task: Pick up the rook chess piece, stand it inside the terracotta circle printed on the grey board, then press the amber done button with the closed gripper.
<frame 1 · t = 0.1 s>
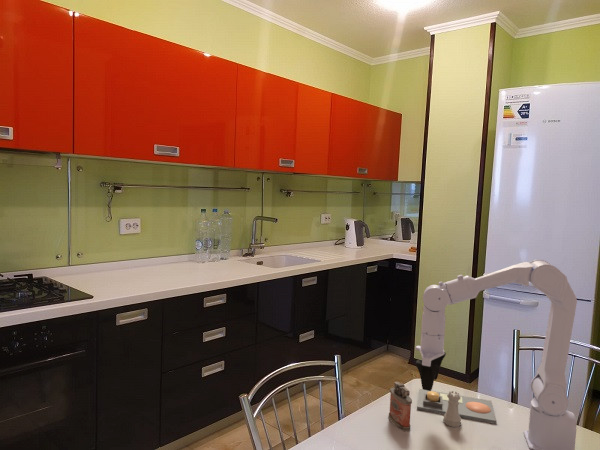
hand: (429, 384, 113), 10 cm above the table, tool pointing down, fingers open, 7 cm apart
done button: (433, 396, 122), point 3 cm above the table, slide at 0.0 cm
lighter: (399, 423, 113), on the table
grey board: (454, 406, 123), on the table
rook chess piece: (451, 423, 114), on the table
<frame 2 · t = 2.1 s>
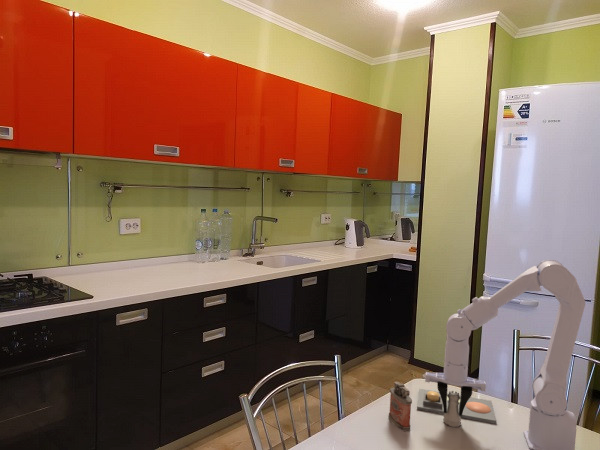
hand: (452, 412, 113), 3 cm above the table, tool pointing down, fingers closed on rook chess piece, 3 cm apart
rook chess piece: (451, 423, 114), on the table, touching gripper
everything else where it was.
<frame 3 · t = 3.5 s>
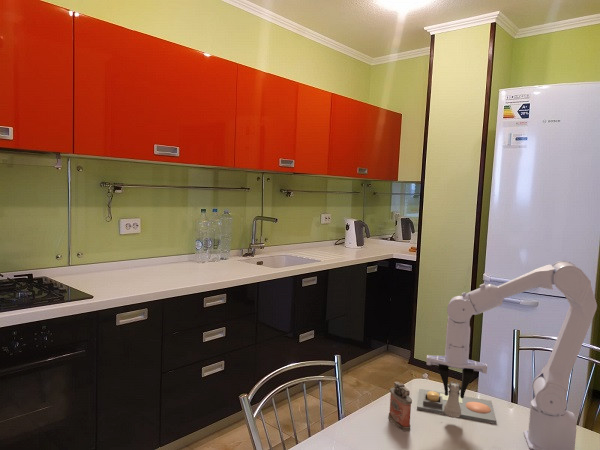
hand: (454, 395, 113), 7 cm above the table, tool pointing down, fingers closed on rook chess piece, 3 cm apart
rook chess piece: (452, 414, 113), point 2 cm above the table, touching gripper
everything else where it was.
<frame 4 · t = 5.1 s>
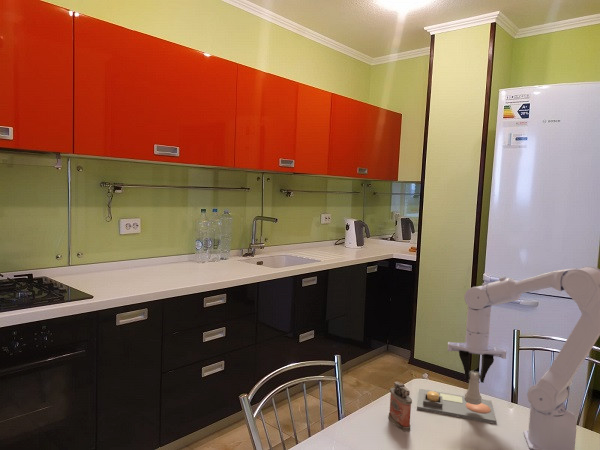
hand: (474, 379, 118), 9 cm above the table, tool pointing down, fingers closed on rook chess piece, 3 cm apart
rook chess piece: (472, 402, 118), point 3 cm above the table, touching gripper
everything else where it was.
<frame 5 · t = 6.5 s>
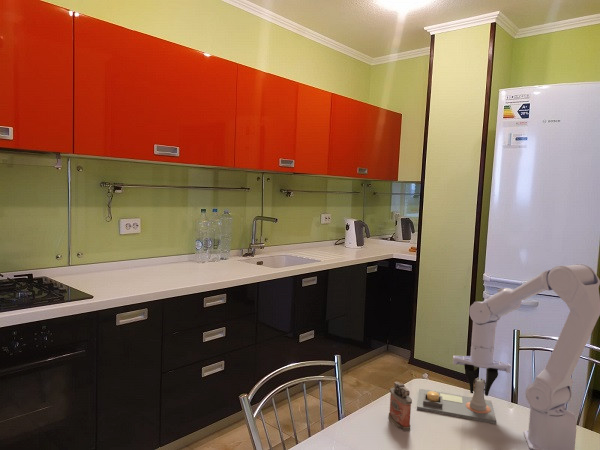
hand: (478, 393, 121), 5 cm above the table, tool pointing down, fingers closed on rook chess piece, 3 cm apart
rook chess piece: (477, 408, 120), point 1 cm above the table, touching gripper, grey board
everything else where it was.
when the fingers open (4 cm above the table, at t = 7.0 s): rook chess piece stays where it is, resting on grey board.
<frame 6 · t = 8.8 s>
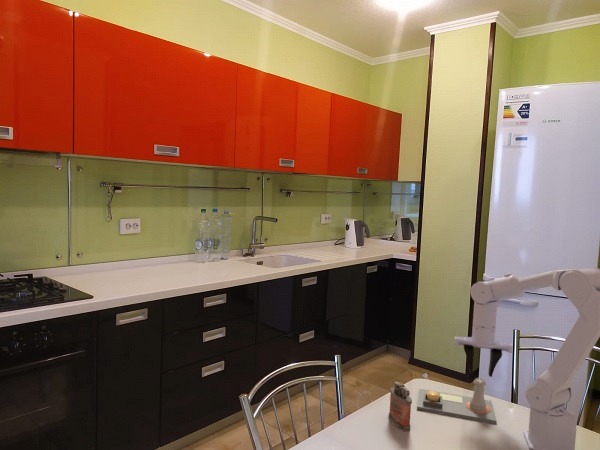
hand: (480, 373, 120), 10 cm above the table, tool pointing down, fingers open, 4 cm apart
rook chess piece: (477, 408, 120), point 1 cm above the table, touching grey board
everything else where it was.
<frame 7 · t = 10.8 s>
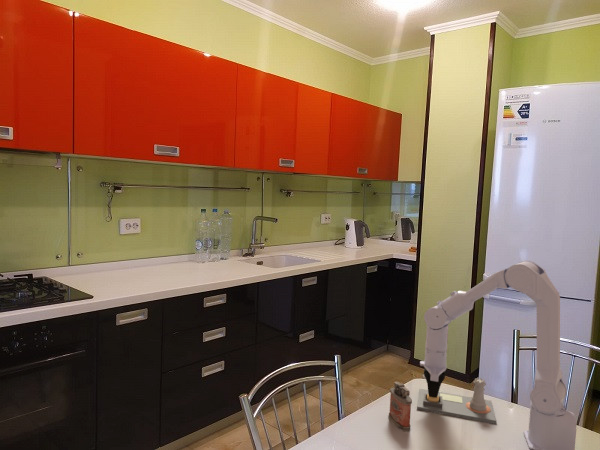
hand: (432, 396, 122), 3 cm above the table, tool pointing down, fingers closed, pressing on done button
done button: (432, 399, 122), point 2 cm above the table, slide at 0.7 cm, touching gripper
everything else where it was.
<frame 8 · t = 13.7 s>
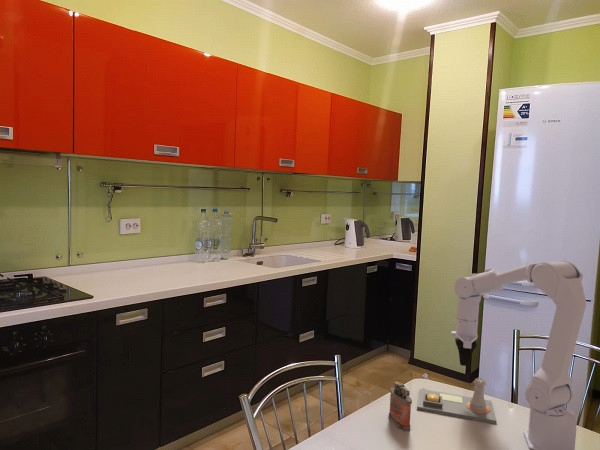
hand: (464, 364, 126), 10 cm above the table, tool pointing down, fingers closed
done button: (432, 399, 123), point 2 cm above the table, slide at 0.8 cm
everything else where it was.
at the end: rook chess piece 0.6 cm from the target spot on the grey board, point 0.7 cm above the grey board's base; rook chess piece tilted 0°; done button slide at 0.8 cm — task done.
